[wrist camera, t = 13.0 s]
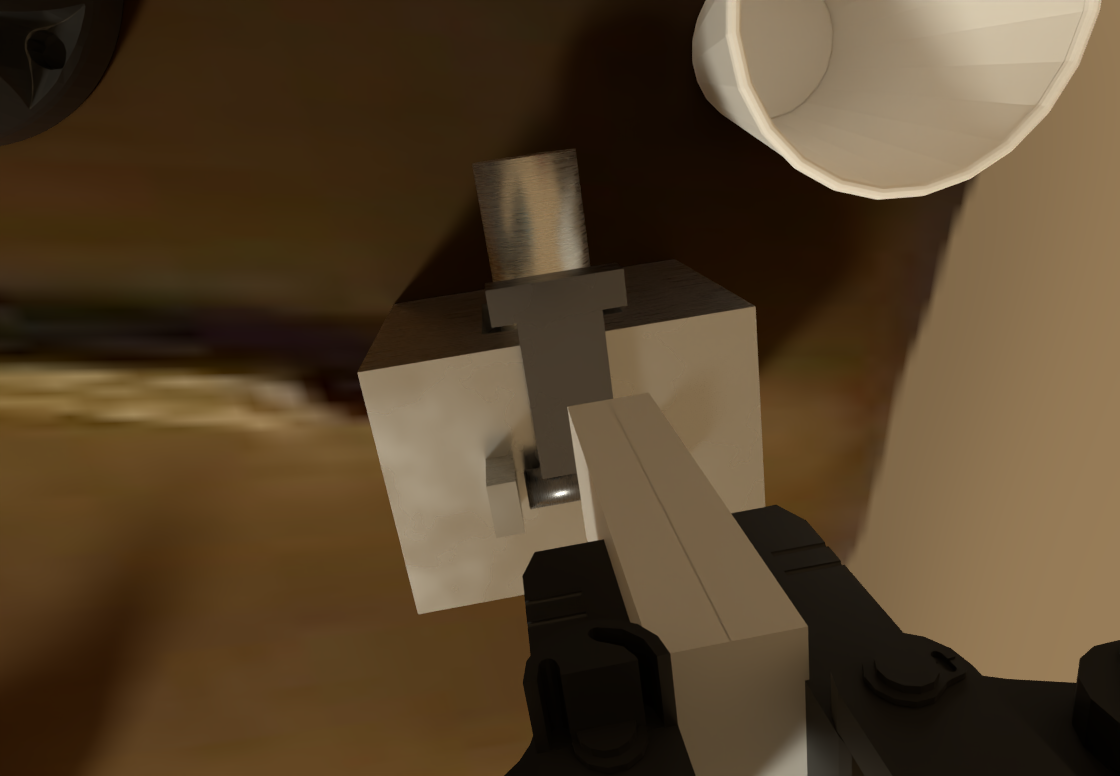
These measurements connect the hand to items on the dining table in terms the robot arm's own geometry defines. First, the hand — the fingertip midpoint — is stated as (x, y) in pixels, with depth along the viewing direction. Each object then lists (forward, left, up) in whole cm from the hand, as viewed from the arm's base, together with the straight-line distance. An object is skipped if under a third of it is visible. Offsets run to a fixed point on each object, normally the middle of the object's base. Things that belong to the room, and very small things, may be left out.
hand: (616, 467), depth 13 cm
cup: (-8, +12, -23) cm, 27 cm away
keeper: (+2, 0, -12) cm, 12 cm away
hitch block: (+6, 0, -23) cm, 24 cm away
